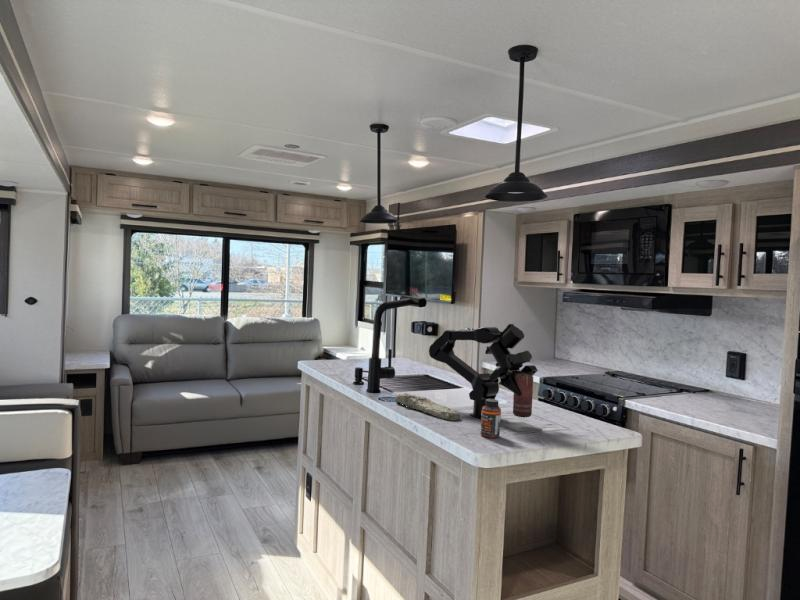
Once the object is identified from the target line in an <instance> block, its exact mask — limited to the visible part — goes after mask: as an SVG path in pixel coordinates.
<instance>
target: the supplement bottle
mask: <svg viewBox="0 0 800 600" xmlns="http://www.w3.org/2000/svg"><path fill="white" fill-rule="evenodd" d="M485 404H486V405H485V406H483V407H482V416H481V420H480V435H481V436H482V437H484V438H488V439H498V438H499V437H500V432H501V425H500V424H501V418H502V417H501V416H502V414H501V413H502V409H501V407H500V406H499V400H498V399H496V398H495V399H486V402H485Z"/></svg>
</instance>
